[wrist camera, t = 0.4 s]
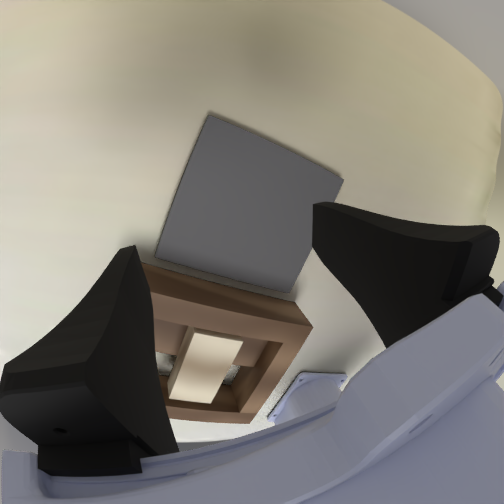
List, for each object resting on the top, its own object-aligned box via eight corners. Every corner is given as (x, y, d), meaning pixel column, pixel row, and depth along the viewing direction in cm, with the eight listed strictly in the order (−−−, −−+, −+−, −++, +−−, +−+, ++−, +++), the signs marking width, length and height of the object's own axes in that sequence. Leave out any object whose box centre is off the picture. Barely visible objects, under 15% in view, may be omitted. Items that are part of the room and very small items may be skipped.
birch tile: (207, 388, 26) (210, 403, 24) (167, 382, 24) (169, 398, 23) (237, 326, 24) (243, 341, 22) (191, 317, 22) (194, 332, 20)
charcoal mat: (286, 290, 26) (289, 293, 26) (155, 254, 21) (154, 257, 21) (340, 178, 23) (344, 179, 23) (208, 115, 19) (209, 115, 18)
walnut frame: (240, 397, 31) (249, 423, 27) (108, 377, 25) (105, 407, 21) (294, 302, 27) (313, 327, 24) (133, 260, 21) (128, 285, 18)
